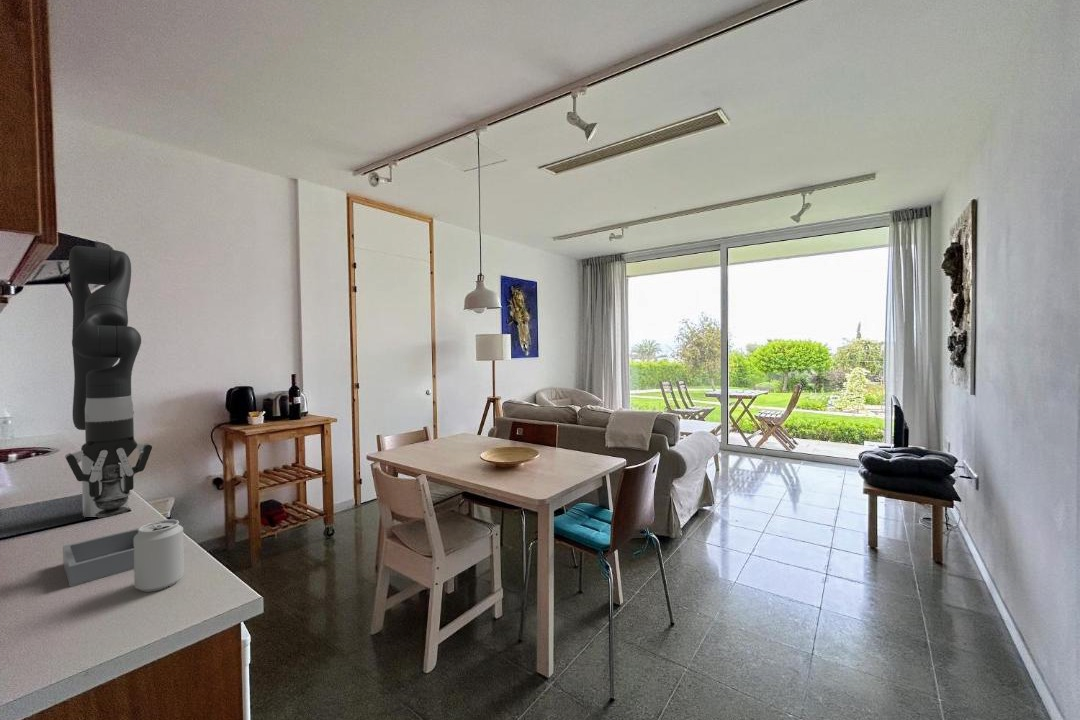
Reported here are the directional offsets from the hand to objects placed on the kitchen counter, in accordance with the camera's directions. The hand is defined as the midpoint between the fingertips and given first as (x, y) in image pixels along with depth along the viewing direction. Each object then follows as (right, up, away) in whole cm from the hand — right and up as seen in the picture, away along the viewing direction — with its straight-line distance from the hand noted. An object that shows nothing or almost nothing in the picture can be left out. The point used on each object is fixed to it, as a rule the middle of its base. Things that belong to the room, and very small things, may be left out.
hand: (111, 494), depth 96 cm
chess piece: (0, -4, 0) cm, 4 cm away
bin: (0, -15, 0) cm, 15 cm away
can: (+18, -15, -8) cm, 25 cm away
